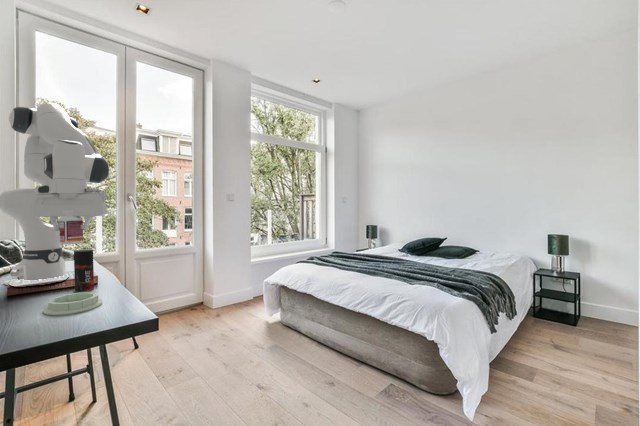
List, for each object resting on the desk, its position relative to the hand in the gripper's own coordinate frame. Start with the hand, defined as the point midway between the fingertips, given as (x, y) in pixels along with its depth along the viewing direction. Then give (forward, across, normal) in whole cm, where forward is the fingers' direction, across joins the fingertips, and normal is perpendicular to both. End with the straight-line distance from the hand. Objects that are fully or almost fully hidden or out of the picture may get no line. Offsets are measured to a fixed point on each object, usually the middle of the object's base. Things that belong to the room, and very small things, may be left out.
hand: (71, 230), depth 106 cm
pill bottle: (+5, 0, 0) cm, 5 cm away
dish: (+24, -3, +6) cm, 25 cm away
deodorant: (+24, +4, -18) cm, 30 cm away
